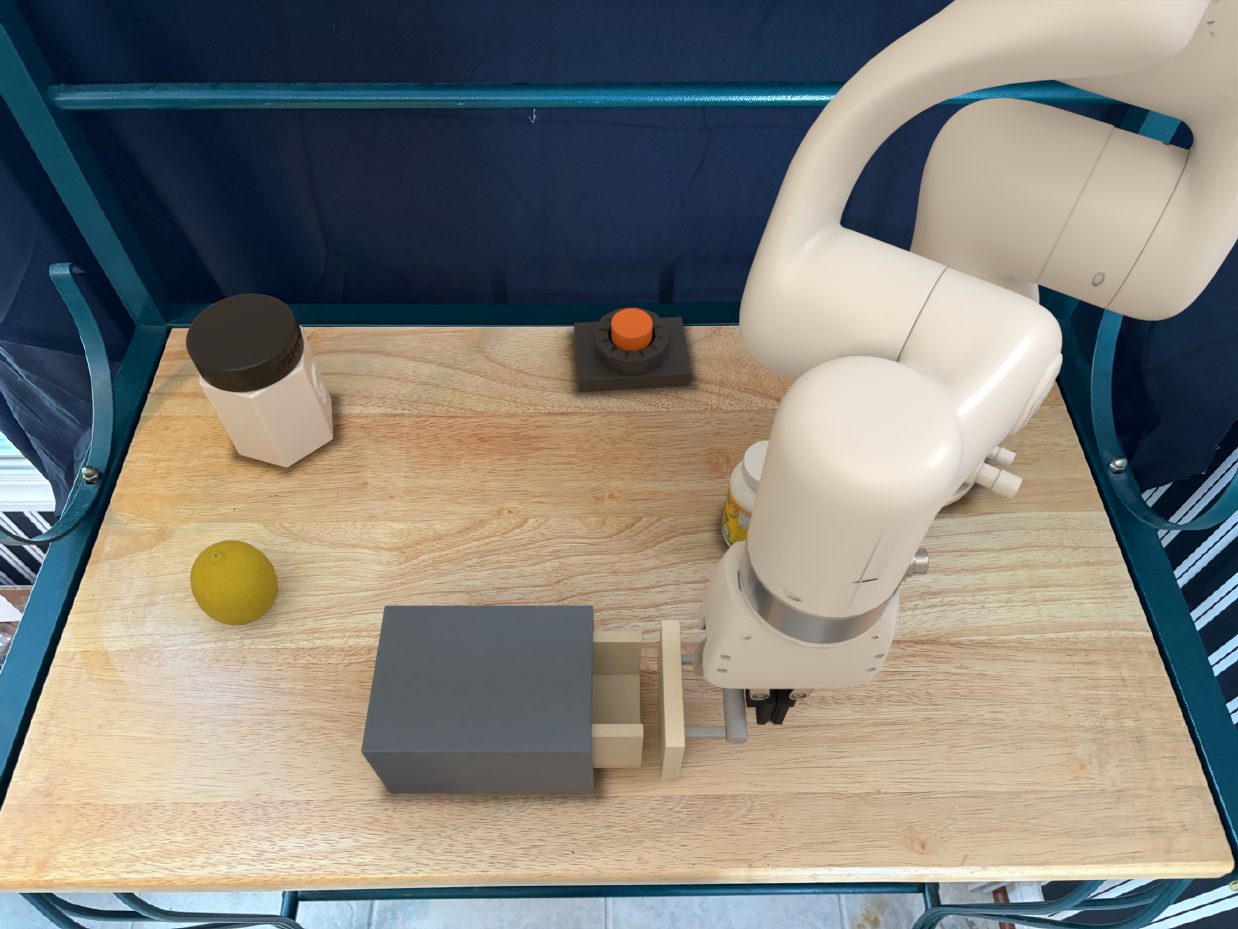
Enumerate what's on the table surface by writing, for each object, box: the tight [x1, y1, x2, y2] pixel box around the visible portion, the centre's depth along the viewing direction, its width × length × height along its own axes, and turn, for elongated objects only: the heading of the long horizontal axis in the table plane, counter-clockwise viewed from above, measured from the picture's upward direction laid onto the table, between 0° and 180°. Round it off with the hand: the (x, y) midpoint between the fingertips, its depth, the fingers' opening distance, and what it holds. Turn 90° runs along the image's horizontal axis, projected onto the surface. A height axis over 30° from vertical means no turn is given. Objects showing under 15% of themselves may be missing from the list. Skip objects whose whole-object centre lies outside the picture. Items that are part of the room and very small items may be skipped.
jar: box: [185, 293, 334, 469], centre depth 73 cm, size 9×8×12 cm
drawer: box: [592, 619, 749, 781], centre depth 60 cm, size 17×8×7 cm, turn 90°
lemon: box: [189, 539, 279, 626], centre depth 65 cm, size 6×6×8 cm
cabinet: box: [360, 605, 595, 794], centre depth 60 cm, size 14×10×9 cm
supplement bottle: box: [721, 439, 769, 548], centre depth 69 cm, size 5×5×10 cm
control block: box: [573, 306, 692, 393], centre depth 82 cm, size 10×7×4 cm
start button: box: [611, 307, 653, 351], centre depth 80 cm, size 4×4×2 cm
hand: (766, 702), depth 60 cm, fingers closed
